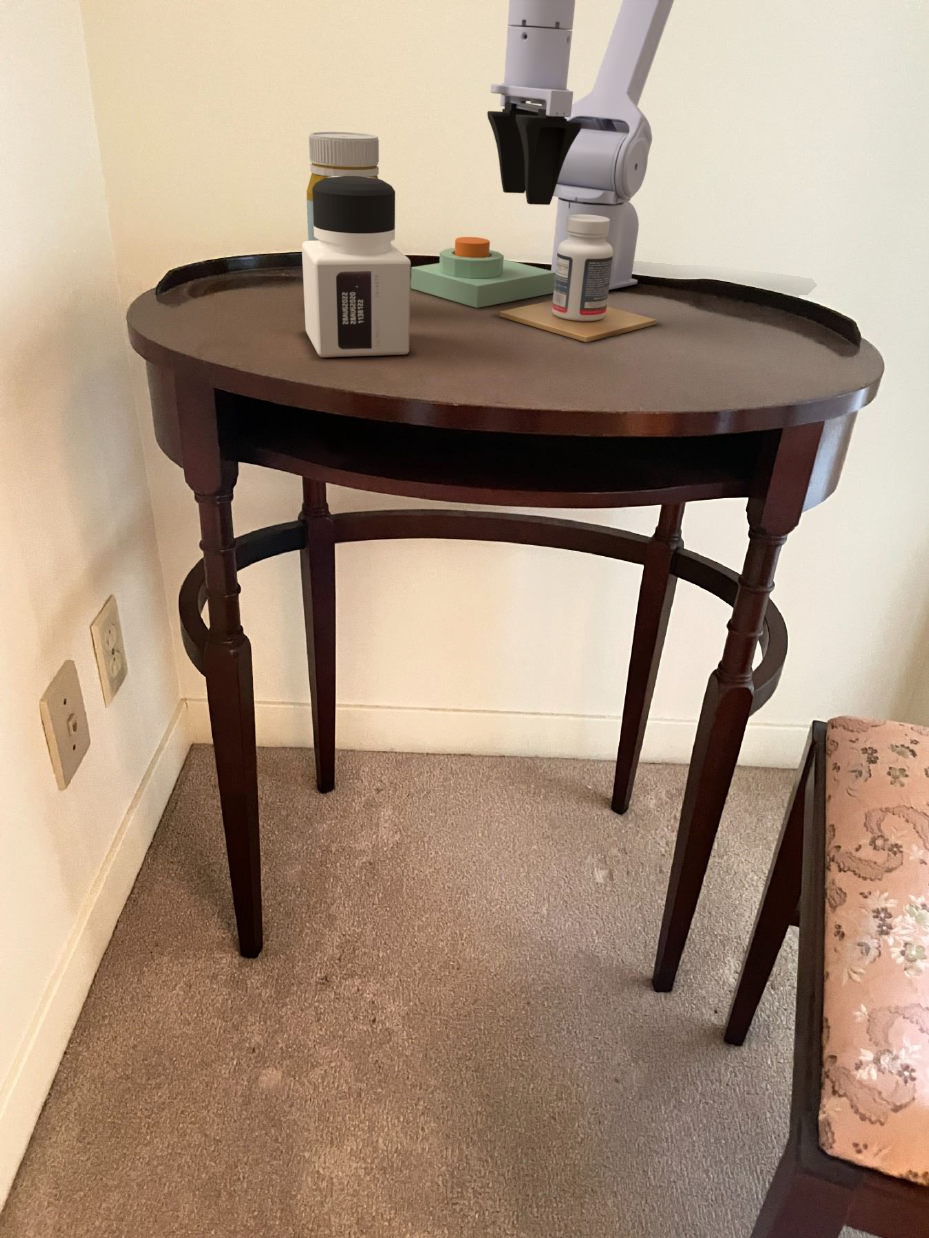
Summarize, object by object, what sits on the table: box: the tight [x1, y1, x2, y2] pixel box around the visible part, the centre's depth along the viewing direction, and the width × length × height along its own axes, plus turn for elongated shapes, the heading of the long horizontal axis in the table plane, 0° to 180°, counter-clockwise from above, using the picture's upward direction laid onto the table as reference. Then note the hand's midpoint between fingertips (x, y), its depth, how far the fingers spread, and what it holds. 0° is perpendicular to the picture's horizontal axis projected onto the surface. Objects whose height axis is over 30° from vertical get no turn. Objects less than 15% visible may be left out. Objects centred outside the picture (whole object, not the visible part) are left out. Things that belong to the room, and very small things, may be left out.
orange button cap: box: [454, 236, 491, 258], centre depth 93 cm, size 4×4×2 cm
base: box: [410, 247, 556, 309], centre depth 96 cm, size 12×10×4 cm
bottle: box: [306, 131, 380, 241], centre depth 83 cm, size 7×7×15 cm
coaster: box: [498, 300, 657, 343], centre depth 88 cm, size 11×11×1 cm
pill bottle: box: [552, 214, 613, 321], centre depth 85 cm, size 5×5×9 cm
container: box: [301, 176, 412, 358], centre depth 74 cm, size 8×8×13 cm
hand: (525, 198), depth 86 cm, fingers open, 7 cm apart
